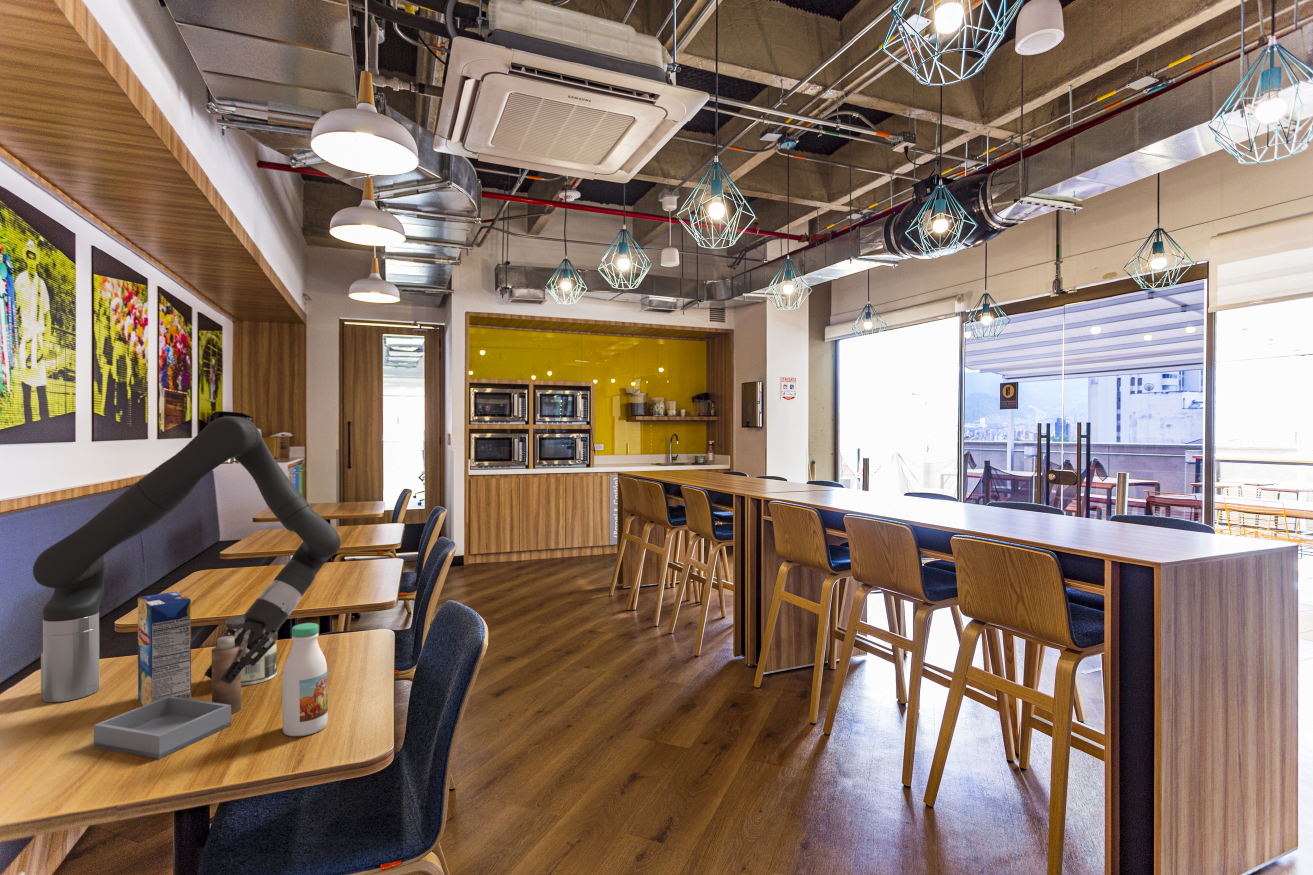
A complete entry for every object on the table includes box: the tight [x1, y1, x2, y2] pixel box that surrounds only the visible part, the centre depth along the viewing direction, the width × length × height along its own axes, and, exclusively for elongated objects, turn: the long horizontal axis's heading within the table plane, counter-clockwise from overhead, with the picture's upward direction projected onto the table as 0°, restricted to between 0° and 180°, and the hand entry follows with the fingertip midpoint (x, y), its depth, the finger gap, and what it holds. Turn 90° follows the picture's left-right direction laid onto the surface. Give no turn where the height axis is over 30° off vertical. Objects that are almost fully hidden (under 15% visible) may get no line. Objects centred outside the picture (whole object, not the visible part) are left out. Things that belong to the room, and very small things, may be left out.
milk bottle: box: [281, 622, 329, 737], centre depth 128 cm, size 8×8×20 cm
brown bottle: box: [211, 636, 242, 715], centre depth 136 cm, size 5×5×15 cm
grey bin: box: [93, 696, 232, 760], centre depth 125 cm, size 16×14×4 cm
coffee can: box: [225, 613, 278, 687], centre depth 155 cm, size 10×10×14 cm
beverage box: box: [137, 591, 192, 706], centre depth 141 cm, size 7×11×22 cm, turn 49°
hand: (217, 678), depth 135 cm, fingers closed on brown bottle, 5 cm apart
